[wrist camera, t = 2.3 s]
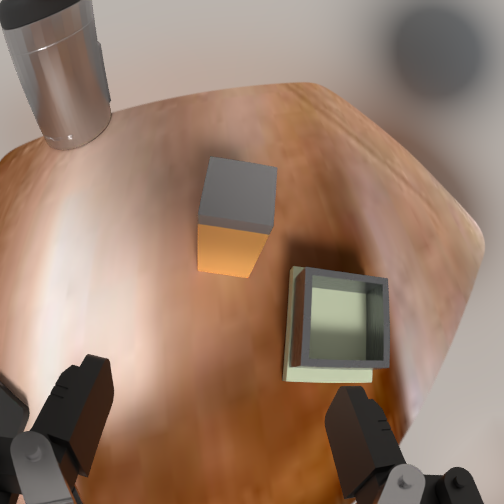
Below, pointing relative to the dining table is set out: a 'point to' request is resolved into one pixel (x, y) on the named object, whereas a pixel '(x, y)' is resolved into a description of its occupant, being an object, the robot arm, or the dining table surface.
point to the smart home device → (11, 414)
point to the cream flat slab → (330, 334)
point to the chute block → (235, 215)
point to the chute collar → (374, 318)
